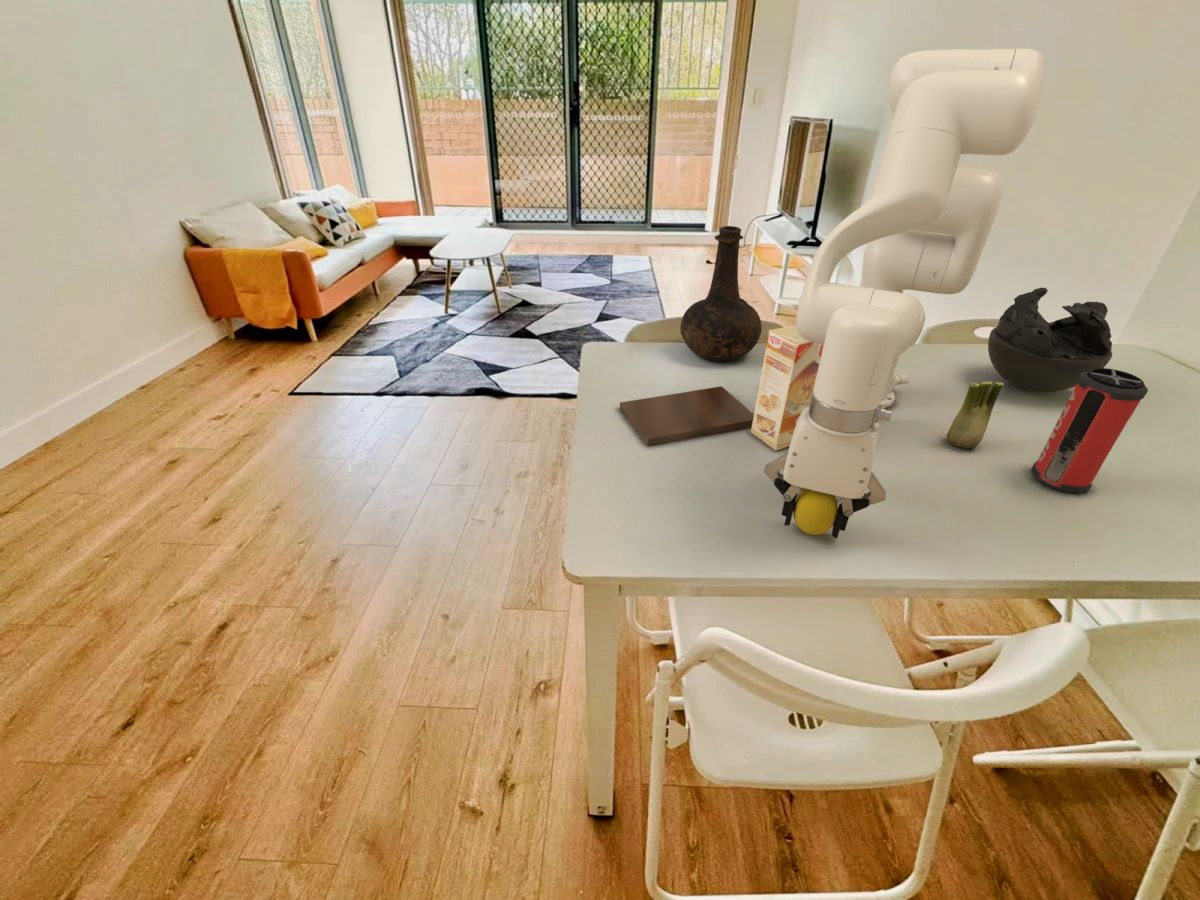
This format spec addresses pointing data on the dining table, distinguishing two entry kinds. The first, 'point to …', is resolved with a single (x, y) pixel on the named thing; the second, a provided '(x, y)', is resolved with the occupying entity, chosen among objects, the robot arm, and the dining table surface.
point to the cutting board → (686, 415)
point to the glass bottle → (722, 309)
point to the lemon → (815, 511)
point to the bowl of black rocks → (1049, 344)
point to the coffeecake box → (784, 385)
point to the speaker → (1088, 428)
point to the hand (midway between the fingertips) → (811, 524)
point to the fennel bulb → (974, 415)
